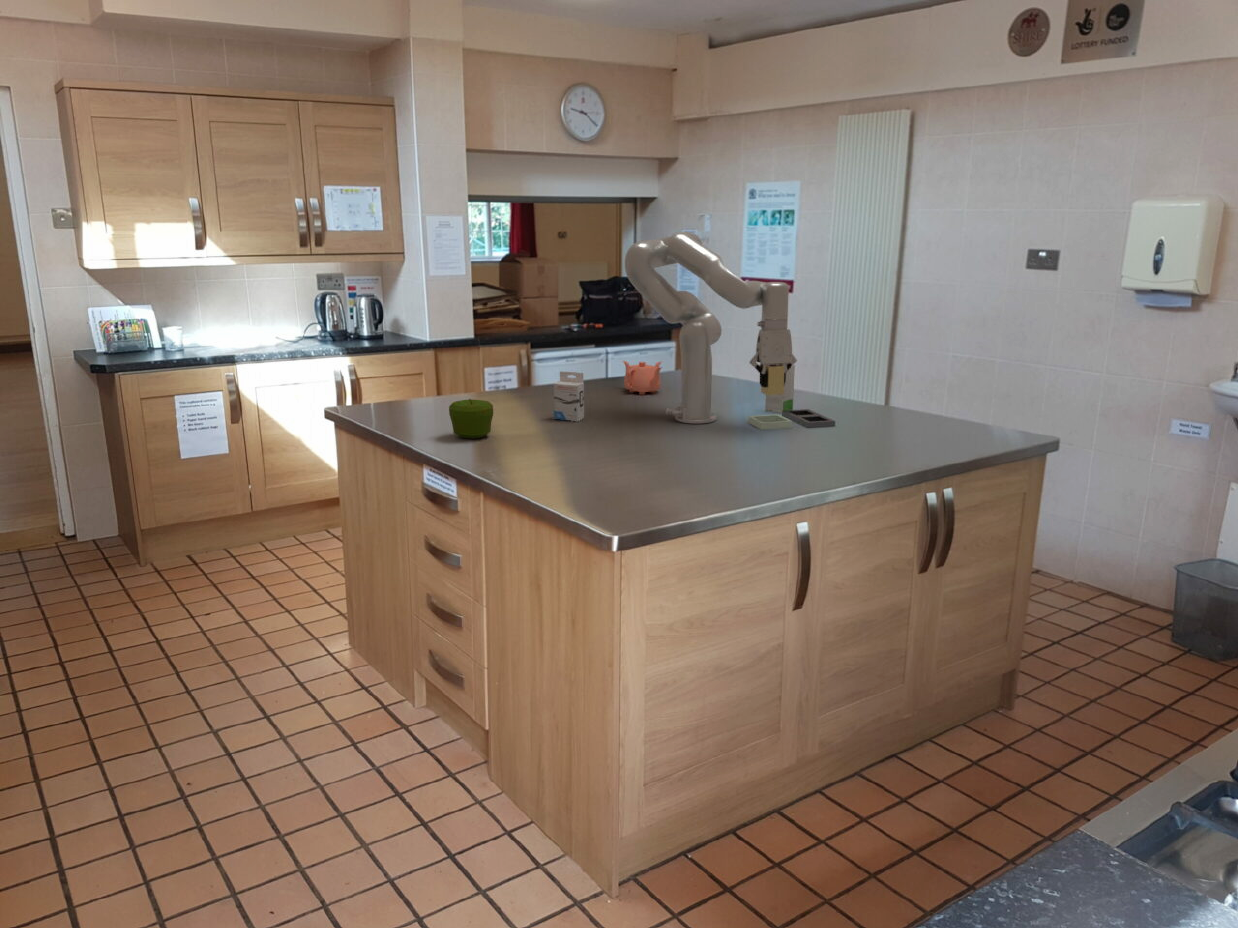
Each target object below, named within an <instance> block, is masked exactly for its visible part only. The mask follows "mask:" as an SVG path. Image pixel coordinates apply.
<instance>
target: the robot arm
mask: <svg viewBox="0 0 1238 928" xmlns="http://www.w3.org/2000/svg"><path fill="white" fill-rule="evenodd" d="M675 264H679V265H680V266H682V267H683V268H684V269H686V270H687V271H689V272H690V273H693V274H694V275H695V276H696V277H698V278H699V279H701V280H702V281H704V282H705V284H706V285H707V286H709V288H710V289H711V290H712V291H714V292H715V294H716V295H718V296H719V297H720V298H723V299H724V300H725V301H727V302H729V303H730V304H731V305H733V306H735V307H737V308H740V309H743V310H744V309H749V308H753V307H757V306H761V318H760V321H758V322H757V327H759V328H761V329H759V331H758V335H757V339H756V347H755V354H753V356H752V358H751V359H750V360H749V364H750V365H751V366H752V367H753V368H755V370H756V371H757V372H758V374H759V384H760V387H761V386H762V387H767V374H766V369H767V366H768V365H770V364H780V365H783V366H784V384H785V382H786V373H787V372H788V370H789V369H790V367H791V366H792V365H793V364H795V363H797V362H798V361H797V360H798V359H797V358H796V356H794V354H793V342H792V340H793V339H792V334H791V333H792V332H791V330H790V329H788V323H789V322H788V319H789V317H788V316H789V293H790V287H789V285H788V283H786V282H783V281H770V282H768V281H767V282H765V281H760V280H748V281H744V280H743V279H741V277H739V276H737V275H735V274H734V273H732V271H730V270H729V269H728V268H727V267H726V266H725V264H724V262H723V258H722V257H721V256H720V255H719V254H718V253H716V252H714V251H713V250H711V249H710V248H708V247H707V246H705V245H703V243H702V240H701V238H700V237H699V236H698V235H697V234H695V233H694V232H692V231H681V232H680V231H679V232H676V233H674V234H671V236H667V237H662V238H657V239H647V240H640V241H637V242H635V243H633V244H632V245H631V246H629V248H628V250H627V252H626V253H625V259H624V271H625V273H626V276H627V279H628V281H629V282H630V284H632V286H633V287H634V288H635V290H636V291H637V292H638V293H640V295H641V296H642V297H643V298H644V299H645V300H646V301H647V302H648V304H649V305H651V307H652V308H653V309H654V310H655V312H657V313H658V314H659V316H660V317H661V318H662V319H663V320H664V321H666V322H667V323H669V324H679V323H680V324H681V325H682V326H681V328H680V331H679V337H678V338H679V346H680V347H679V348H680V404H677V406H676V407H675V406H674V407H673V408H670V407H669V408H668V407H667V408H665V409H664V410H665V412H664V413H665V415H672V416H675V417H674V418H675V421H676V422H680V423H684V424H696V425H697V424H699V425H700V424H708V423H714V422H715V421H716V420H717V415H715V414H714V413H713V414H712V385H713V384H712V383H713V382H712V381H713V379H712V378H713V377H712V376H713V356H712V347H711V346H712V345H714V344H715V343H717V342H718V341H719V339H720V338H721V336H722V326H721V323H720V321H719V319H718V318H717V317H716V316H715V315H714V314H713V312H711V311H710V310H709V308H707V306H705V304H704V303H703V302H702V301H701V300H700V299H699V298H698V297H697V296H695V294H693V293H692V292H690V291H687V290H676V289H675V288H674V287H673V285H671V284H670V283H669V282H668V281H667V280H666V278H665V277H663V276H662V275H661V274H660V273H659V272H657V271H656V268H660V267H664V266H665V267H666V266H669V265H675ZM758 363H759V364H758Z"/></svg>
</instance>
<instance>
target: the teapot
mask: <svg viewBox="0 0 1238 928" xmlns="http://www.w3.org/2000/svg"><path fill="white" fill-rule="evenodd" d="M622 362H623V363H624V365H625V374H624V379H623V380H624V381H623V386H624V388H625V389H626V390H629V391H628V393H631V394H633V393H636V392H639V394H638V395H640V396H642V395H643V396H645V395H646V393H647V392H649V393H651V394H655V393H656V391H658V390H659V389H660V388H661V385H662V383H661V376H660V371H661V370H662V369H663V367H660V365H661V364H662V361H658V362H656V364H655V365H651V364H647V362H646V361H639V362H638V364H633V365H630V364H629V362H628V361H625V360H622Z"/></svg>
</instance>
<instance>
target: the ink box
mask: <svg viewBox="0 0 1238 928" xmlns="http://www.w3.org/2000/svg"><path fill="white" fill-rule="evenodd" d="M570 376H572V377H570ZM553 411H554V412H553V420H554V419H561V420H560V421H563V420H571V421H570V422H573V421H579V422H580V420H581V421H582V419H583V418H584V419H585V382H584V372H577V371H559V381H556V382H553ZM584 419H583V420H584Z"/></svg>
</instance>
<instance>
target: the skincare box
mask: <svg viewBox="0 0 1238 928" xmlns="http://www.w3.org/2000/svg"><path fill="white" fill-rule="evenodd" d="M795 365H796V364H795V363H794V364H793V365H792V366H791V367H790V369H789V370H788V372H787V373H786V382H785V384H784V394H781V395H766V394H765V407H764V408H765V409H764V410H765V411H764V413H774V414H779V415H782V411H786V410H794V393H795V390H794V389H795V368H796V366H795Z"/></svg>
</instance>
